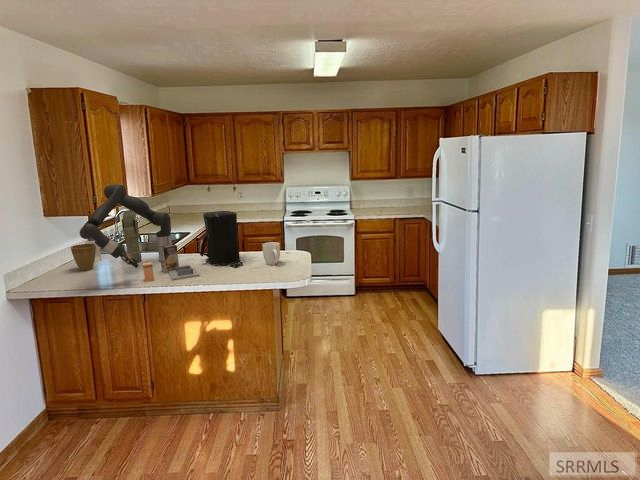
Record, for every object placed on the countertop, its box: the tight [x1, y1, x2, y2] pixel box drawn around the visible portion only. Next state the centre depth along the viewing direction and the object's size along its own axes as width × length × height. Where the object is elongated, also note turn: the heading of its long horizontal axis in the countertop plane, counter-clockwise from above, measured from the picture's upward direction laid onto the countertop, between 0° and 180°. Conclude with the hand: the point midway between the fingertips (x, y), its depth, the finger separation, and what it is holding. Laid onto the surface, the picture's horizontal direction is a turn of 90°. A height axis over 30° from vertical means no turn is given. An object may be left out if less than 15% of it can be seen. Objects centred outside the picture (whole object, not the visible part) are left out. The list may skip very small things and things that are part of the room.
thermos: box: [121, 210, 142, 264], centre depth 320 cm, size 9×12×35 cm
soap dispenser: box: [84, 237, 102, 263], centre depth 328 cm, size 6×9×22 cm
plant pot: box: [70, 243, 96, 272], centre depth 308 cm, size 15×15×16 cm
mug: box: [262, 241, 281, 266], centre depth 300 cm, size 15×11×13 cm
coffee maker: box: [199, 210, 244, 268], centre depth 308 cm, size 23×32×34 cm
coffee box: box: [159, 244, 180, 274], centre depth 296 cm, size 9×6×16 cm
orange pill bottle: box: [142, 261, 155, 282], centre depth 279 cm, size 5×5×10 cm
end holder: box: [168, 264, 200, 281], centre depth 287 cm, size 18×16×4 cm
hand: (137, 264), depth 276 cm, fingers open, 8 cm apart
